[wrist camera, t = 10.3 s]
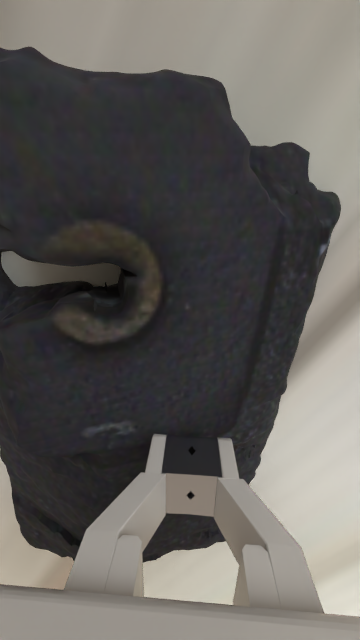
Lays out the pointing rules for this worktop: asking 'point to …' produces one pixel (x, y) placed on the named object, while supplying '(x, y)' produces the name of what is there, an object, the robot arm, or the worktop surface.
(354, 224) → the worktop surface
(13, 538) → the worktop surface
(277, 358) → the dark slate chunk
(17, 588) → the robot arm
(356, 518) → the worktop surface
